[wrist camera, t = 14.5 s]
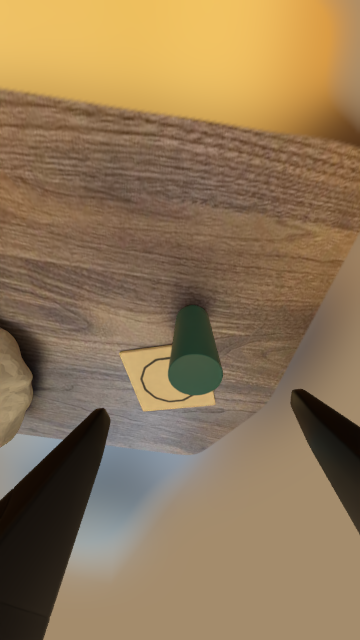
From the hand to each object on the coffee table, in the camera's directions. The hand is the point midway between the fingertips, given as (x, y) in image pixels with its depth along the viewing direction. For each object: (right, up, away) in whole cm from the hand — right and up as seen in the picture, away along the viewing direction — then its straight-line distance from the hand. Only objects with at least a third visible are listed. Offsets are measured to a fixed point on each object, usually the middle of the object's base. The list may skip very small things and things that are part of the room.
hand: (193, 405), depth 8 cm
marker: (+1, +4, +9) cm, 10 cm away
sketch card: (-2, -3, +13) cm, 14 cm away
